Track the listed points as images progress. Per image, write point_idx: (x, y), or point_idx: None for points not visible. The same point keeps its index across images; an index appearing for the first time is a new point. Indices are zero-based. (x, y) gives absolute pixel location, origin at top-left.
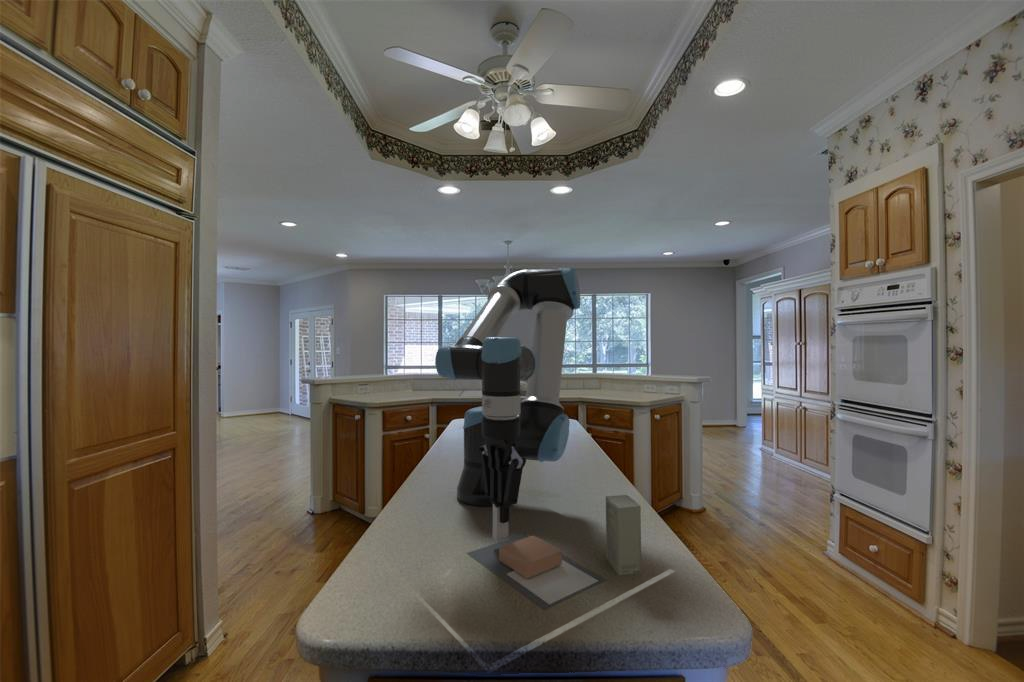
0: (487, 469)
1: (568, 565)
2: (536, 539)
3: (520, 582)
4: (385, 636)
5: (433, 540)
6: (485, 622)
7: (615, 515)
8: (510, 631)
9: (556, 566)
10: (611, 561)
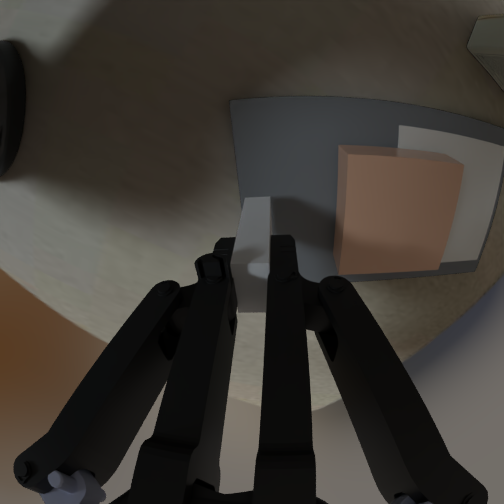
0: (133, 421)
1: (450, 140)
2: (377, 165)
3: None
4: None
5: None
6: (421, 327)
7: None
8: (452, 312)
9: None
10: (497, 73)
